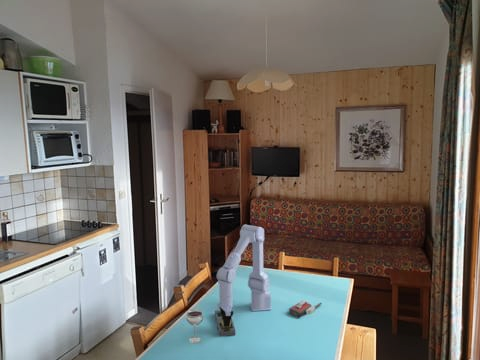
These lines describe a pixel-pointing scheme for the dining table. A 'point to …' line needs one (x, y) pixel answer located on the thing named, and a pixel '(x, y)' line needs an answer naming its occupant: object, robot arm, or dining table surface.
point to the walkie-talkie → (302, 309)
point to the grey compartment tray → (224, 331)
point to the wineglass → (194, 322)
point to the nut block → (223, 324)
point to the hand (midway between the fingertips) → (226, 323)
